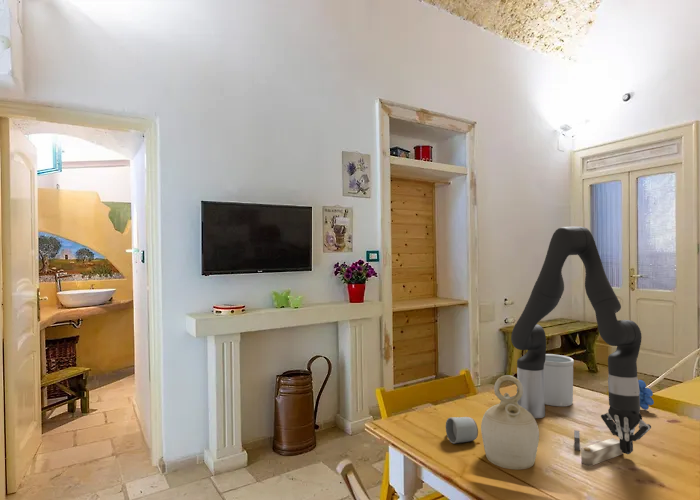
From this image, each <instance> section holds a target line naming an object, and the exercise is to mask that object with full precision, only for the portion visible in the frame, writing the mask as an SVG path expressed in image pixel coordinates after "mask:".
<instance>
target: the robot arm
mask: <svg viewBox="0 0 700 500" xmlns="http://www.w3.org/2000/svg"><path fill="white" fill-rule="evenodd" d="M569 256H578V257H579V258H580V260H581V262H582V263H583V267H584V271H585V275H584V278H585V279H584V290H585V294H586V295H587V298H588V300H589V302H590V304H591V306H592V309H593V310H594V313H595V319H596V324H597V329H598V333H599V335H600V337H601V339H602V340H603V341H604V342H605V343H606V344H607V345H609V346H612V347H616V349H615V351H613V352H612V353H609V355H608V356H607V370H608V371H607V372H608V377H607V389H608V404H609V405H608V406H609V408H608V412H606V413H603V414H601V415H600V418H601V419H602V421H603V422H604V423H605V425H606V427H607V428H608V430H609V431H610V432H611V434H612V436H616V437H618V440H620V449H621V450H622V453H623V454H625V455H630V454H632V453H633V452H634V442H637V440H641V438H642V437H644V435H646V434H647V433H648V431H650V429H652V425H651V424H649V423H648V424H647V423H646V422H645V421H644V420H643V416H642V414H641V407H640V395H639V393H640V390H639V383H638V380H639V379H638V365H637V361H638V358H639V355H640V354H639V353H640V348H641V345H642V331H641V329H640V326H639V325H638V324H637V323H636V322H635V321H633V320H629V319H621V320H618V319H617V313H618V312H620V310H621V308H622V305H621V301H620V300H619V298H618V297H617V294H616V293H615V291H614V289H613V287H612V285H611V283H610V282H609V279H608V276H607V275H606V271H605V268H604V266H603V262H602V260H601V257H600V253H599V250H598V247H597V244H596V241H595V239H594V236H593V234H592V232H591V231H590V230H589V229H588V228H587V227H585V226H580V225H578V226H561V227H558V228H557V229H555V231H554V232H553V233H552V235H551V239H550V242H549V245H548V248H547V252H546V255H545V258H544V261H543V264H542V267H541V270H540V271H539V274H538V277H537V279H536V280H535V282H534V286H533V288H532V290H531V293H530V296H529V297H528V300H527V302H526V305H525V307H524V308H523V311H522V313H521V315H520V316H519V318H518V319H517V321H516V323H515V325H514V326H513V327H512V328H513V329H512V332H511V337H510V338H511V339H510V340H511V343H512V345H513V347H514V348H515V349H517V350H520V351H527V352H526V353H525V354H524V355H522V356H520V357H519V358H517V361H516V369H517V372H516V373H517V377H516V378H517V379H518V380H519V381H520V382H521V384H522V387H523V395H522V397H521V398H520V399H519V400H518V401H517V403H518V405H519V406H521V407H523V408H524V409H526V410H527V411H528V412H530V413H531V414H532V416H533V417H534V419H542V418H544V417H545V416H546V407H545V405H546V404H545V394H544V363H545V359H546V354H547V353H546V352H547V337H546V332H545V329H544V328H543V326H541V325H540V324H538V323H539V322H540V321H541V320H542V319H544V318H545V317H546V316H548V315H549V314H550V313H552V311H553V310H555V308H556V307H557V306H558V304H559V302H560V300H561V298H562V296H563V293H564V291H565V282H564V278H563V274H562V271H563V270H562V269H563V267H564V265H565V263H566V261H567V258H568V257H569ZM517 391H518V388H516V392H517ZM637 426H638V430H635V429H636V427H637ZM635 431H636V432H635Z"/></svg>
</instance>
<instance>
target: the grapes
mask: <svg viewBox="0 0 700 500" xmlns="http://www.w3.org/2000/svg"><path fill="white" fill-rule="evenodd" d="M638 383H639V390H640V393H639V395H640V409H643V411H647V410H648V409H650V407H649V406H652V405H654V404H655V402H654V399H653V398H652V396H653V395H654V393H653V390H652V389H651V388H649V387H647V384H646V382H645V381H644V380H642V379H638Z"/></svg>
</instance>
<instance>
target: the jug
mask: <svg viewBox="0 0 700 500" xmlns="http://www.w3.org/2000/svg"><path fill="white" fill-rule="evenodd" d="M506 382H512V383H513V384H514V385H515V386H516V387H517V388H518V391H517V390H516V394H515V395H513V396H510V393H508V392H505V393H504V394H503V395H502V393H501V392H500V387H501V385H502V384H503V383H506ZM517 388H516V389H517ZM493 390H494V391H493V392H494V395H495V396H496V397H497V399H499V400H500V402H499V403H497V404H495V405H492V406H490V407H489V408H488V409H487V410H485V412H484V414H483V417H482V419H481V424H480V431H481V438H482V443H483V448H484V453H485V456H486V459H487V460H488V461H489V463H491V464H494V465H495V466H497V467H500V468H503V469H509V470H517V471H518V470H526V469H529V468H532V467H533V466H534V464H535V461H536V457H537V453H538V447H539V440H540V430H539V427H538V422H537V421H536V418H534V417H533V416H532V414H531V413H530V412H528V411H527V410H526V409H524V408H523V407H521V406H519V405H518V403H517V401H518V400H519V399H520V398H521V397H522V395H523V387H522V384H521V382H520V381H519V380H518V379H517V377H515V376H513V375H509V374H505V375H502V376H500V377H498V378H497V380H496V381H495V383H494V386H493Z"/></svg>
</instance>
